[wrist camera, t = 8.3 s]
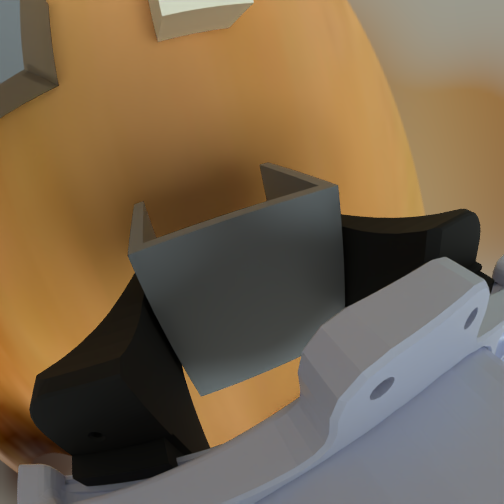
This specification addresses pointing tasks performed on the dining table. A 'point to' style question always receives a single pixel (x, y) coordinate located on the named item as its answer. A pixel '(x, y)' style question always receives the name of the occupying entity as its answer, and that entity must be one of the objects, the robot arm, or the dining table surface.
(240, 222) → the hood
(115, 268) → the dining table surface
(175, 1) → the cube
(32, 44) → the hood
